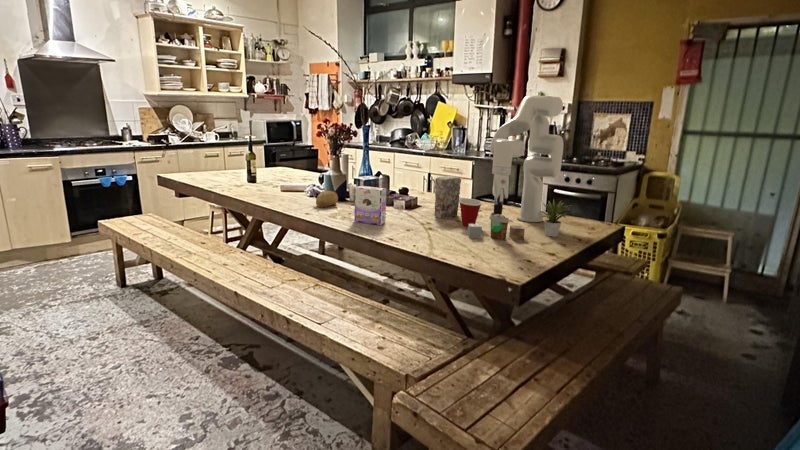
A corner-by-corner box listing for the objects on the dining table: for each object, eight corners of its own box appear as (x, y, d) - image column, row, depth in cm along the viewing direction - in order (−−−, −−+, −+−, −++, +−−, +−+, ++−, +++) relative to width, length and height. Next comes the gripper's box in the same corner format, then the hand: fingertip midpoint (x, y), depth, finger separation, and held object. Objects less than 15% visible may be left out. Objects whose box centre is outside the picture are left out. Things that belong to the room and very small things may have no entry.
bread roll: (342, 204, 249) (342, 190, 247) (327, 209, 236) (327, 194, 234) (327, 202, 253) (327, 188, 251) (311, 207, 240) (311, 192, 238)
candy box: (386, 223, 212) (387, 188, 208) (380, 225, 207) (381, 189, 203) (360, 219, 218) (360, 185, 214) (353, 221, 213) (354, 186, 209)
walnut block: (520, 237, 198) (521, 225, 197) (523, 240, 193) (524, 228, 192) (509, 236, 198) (510, 225, 197) (511, 239, 193) (512, 227, 192)
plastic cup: (465, 229, 206) (467, 203, 203) (452, 224, 216) (454, 199, 213) (485, 227, 211) (487, 202, 208) (471, 222, 220) (473, 197, 217)
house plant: (564, 242, 192) (569, 204, 188) (531, 236, 199) (535, 199, 195) (571, 235, 204) (576, 199, 200) (540, 230, 211) (544, 195, 207)
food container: (484, 233, 202) (486, 211, 199) (498, 233, 202) (500, 211, 200) (492, 241, 190) (494, 217, 187) (506, 241, 190) (509, 218, 188)
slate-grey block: (479, 235, 198) (479, 223, 197) (480, 238, 194) (481, 226, 192) (467, 234, 198) (468, 223, 197) (469, 238, 194) (470, 226, 192)
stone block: (443, 219, 224) (446, 178, 219) (432, 216, 228) (434, 177, 223) (459, 215, 233) (462, 176, 228) (448, 213, 238) (451, 175, 233)
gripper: (514, 173, 182) (510, 218, 186) (506, 168, 196) (502, 210, 201) (495, 172, 182) (491, 217, 186) (489, 167, 196) (485, 209, 201)
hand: (497, 213), depth 194 cm, fingers closed
